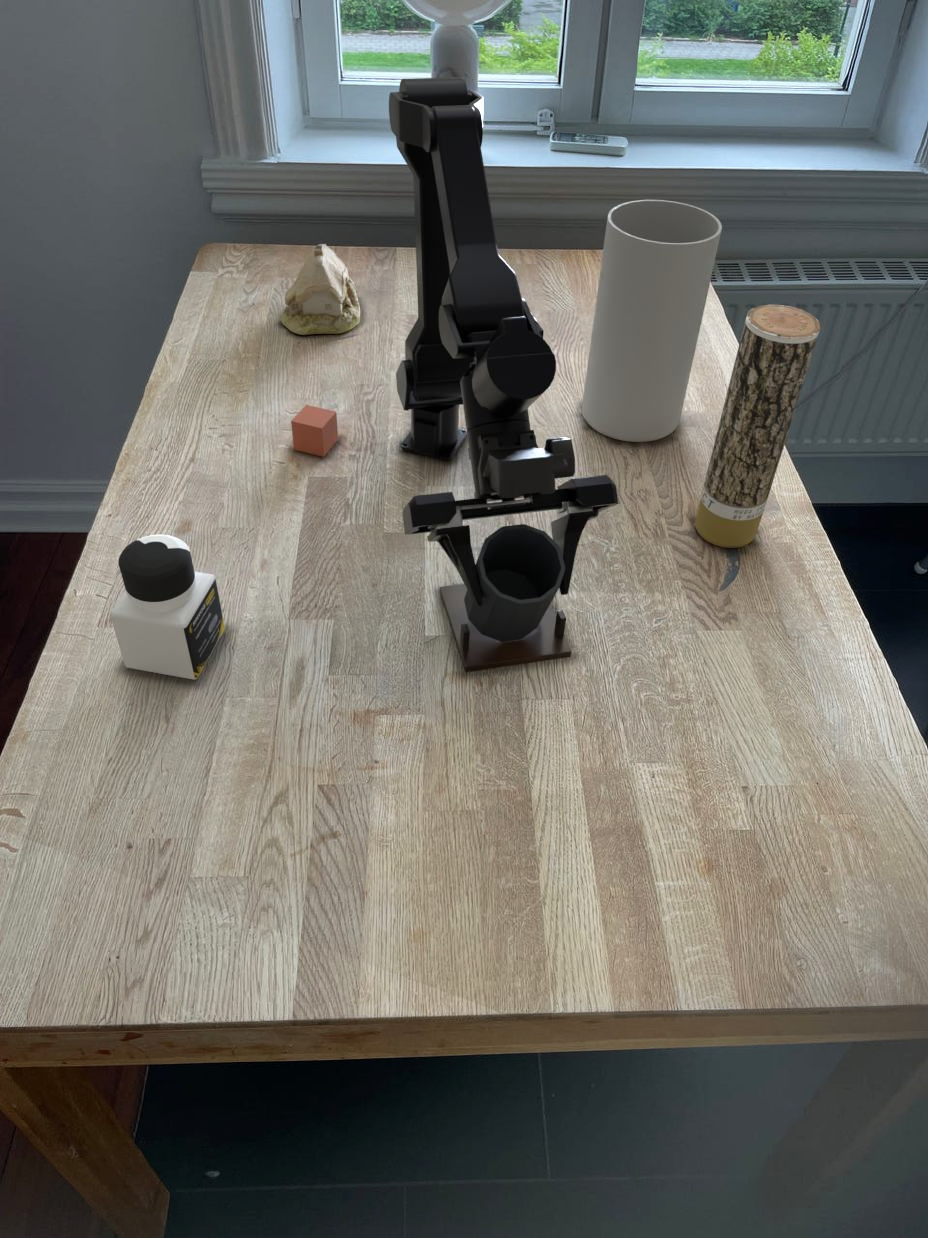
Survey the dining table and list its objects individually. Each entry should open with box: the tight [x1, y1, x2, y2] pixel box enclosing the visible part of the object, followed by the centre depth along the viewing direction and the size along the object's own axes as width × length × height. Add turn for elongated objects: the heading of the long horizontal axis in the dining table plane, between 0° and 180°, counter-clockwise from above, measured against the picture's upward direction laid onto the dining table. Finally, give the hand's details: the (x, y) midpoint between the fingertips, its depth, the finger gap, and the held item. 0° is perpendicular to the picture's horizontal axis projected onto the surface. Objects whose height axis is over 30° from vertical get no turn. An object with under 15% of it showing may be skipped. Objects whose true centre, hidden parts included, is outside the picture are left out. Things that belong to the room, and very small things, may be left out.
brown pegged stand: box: [438, 583, 572, 673], centre depth 95 cm, size 11×10×3 cm
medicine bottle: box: [109, 534, 226, 680], centre depth 88 cm, size 7×7×12 cm
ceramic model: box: [280, 243, 361, 336], centre depth 138 cm, size 14×11×10 cm
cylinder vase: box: [581, 199, 723, 443], centre depth 116 cm, size 12×12×25 cm
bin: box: [464, 523, 565, 642], centre depth 90 cm, size 8×8×10 cm
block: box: [290, 404, 339, 458], centre depth 116 cm, size 4×4×4 cm
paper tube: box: [694, 304, 821, 549], centre depth 99 cm, size 7×7×25 cm
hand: (522, 600), depth 87 cm, fingers closed on bin, 7 cm apart
